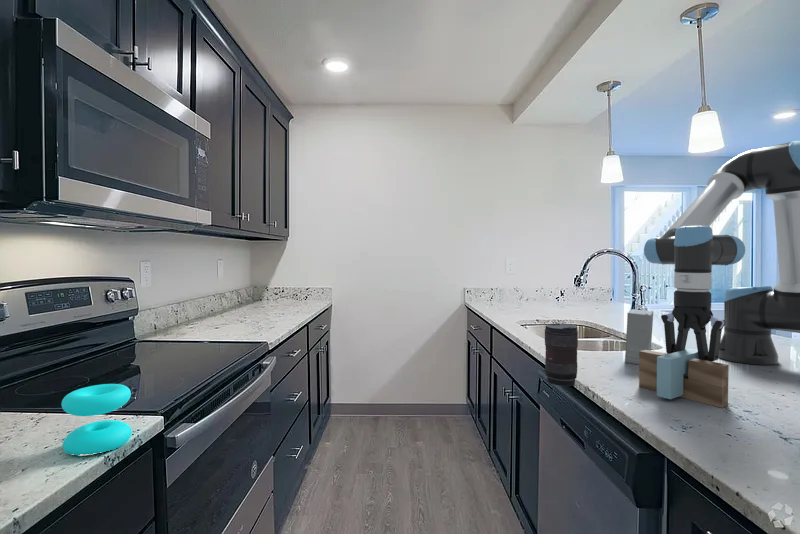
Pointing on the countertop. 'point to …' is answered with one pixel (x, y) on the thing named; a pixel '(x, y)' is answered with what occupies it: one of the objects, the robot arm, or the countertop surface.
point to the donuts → (101, 432)
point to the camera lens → (561, 353)
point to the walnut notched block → (690, 378)
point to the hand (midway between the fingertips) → (690, 386)
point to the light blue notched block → (673, 372)
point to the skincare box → (638, 334)
